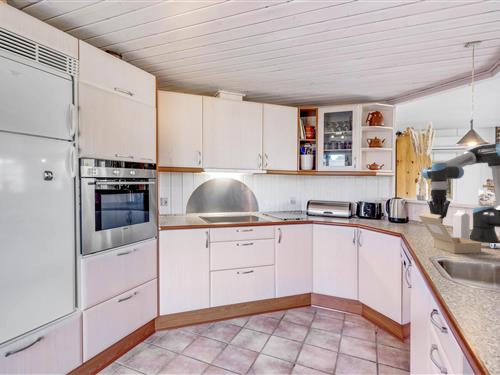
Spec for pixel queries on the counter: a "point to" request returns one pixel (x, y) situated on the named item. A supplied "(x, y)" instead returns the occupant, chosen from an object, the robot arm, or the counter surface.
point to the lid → (435, 226)
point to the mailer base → (458, 246)
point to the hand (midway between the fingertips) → (438, 229)
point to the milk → (461, 224)
